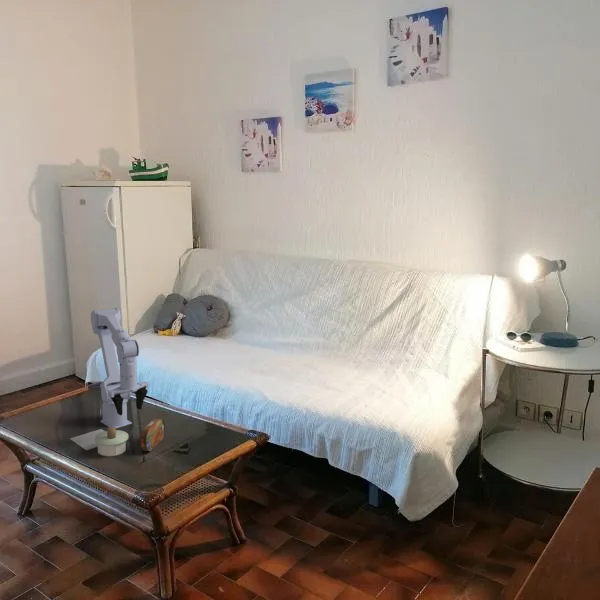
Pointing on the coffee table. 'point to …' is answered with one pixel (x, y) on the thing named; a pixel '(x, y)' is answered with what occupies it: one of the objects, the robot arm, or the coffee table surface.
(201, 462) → the coffee table surface
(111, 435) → the lid
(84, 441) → the mat
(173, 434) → the coffee table surface
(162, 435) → the tin
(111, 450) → the bowl
